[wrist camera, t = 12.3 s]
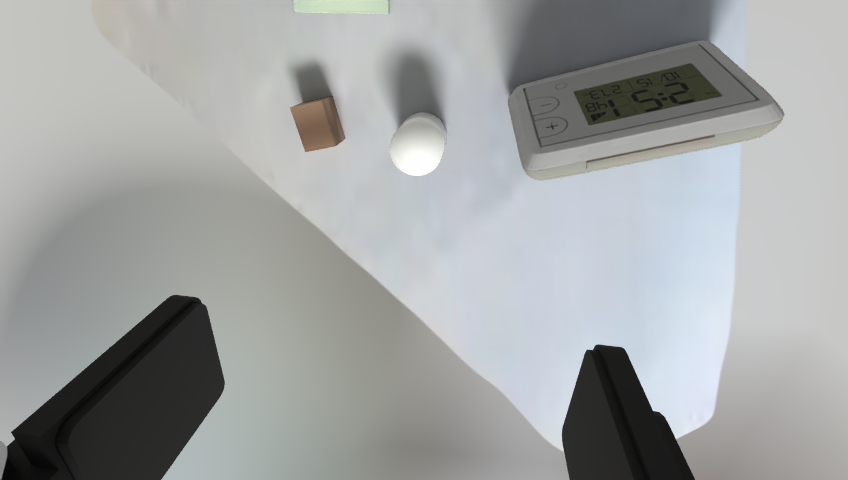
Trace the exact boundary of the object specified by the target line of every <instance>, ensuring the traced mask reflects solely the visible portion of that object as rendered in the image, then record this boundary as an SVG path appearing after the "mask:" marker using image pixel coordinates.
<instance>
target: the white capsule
mask: <svg viewBox="0 0 848 480" xmlns="http://www.w3.org/2000/svg"><path fill="white" fill-rule="evenodd" d="M446 140H447V133H446V129H445V126H444V124H443V123H442V121H441V120H440V119H439V118H438V117H436V116H435V115H433V114H431V113H427V112H419V113H415V114H413V115H411V116H409V117H408V118H407V119H406V120H405V121H404V123H403V124H402V125H401V126H400V127H399V129H398V130H397V131H396V132H395V134H394V135H393V137H392V139H391V142H390V154H391V158H392V160H393V162H394V163H395V165H396V166H397V167H398V168H399V169H400V170H401V171H403V172H405V173H407V174H409V175H415V176H420V175H425V174H427V173H429V172H431V171H432V170H434V169H435V168H436V167H437V165H438V164H439V162H440V160H441V157H442V154H443V151H444V147H445V144H446Z"/></svg>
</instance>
